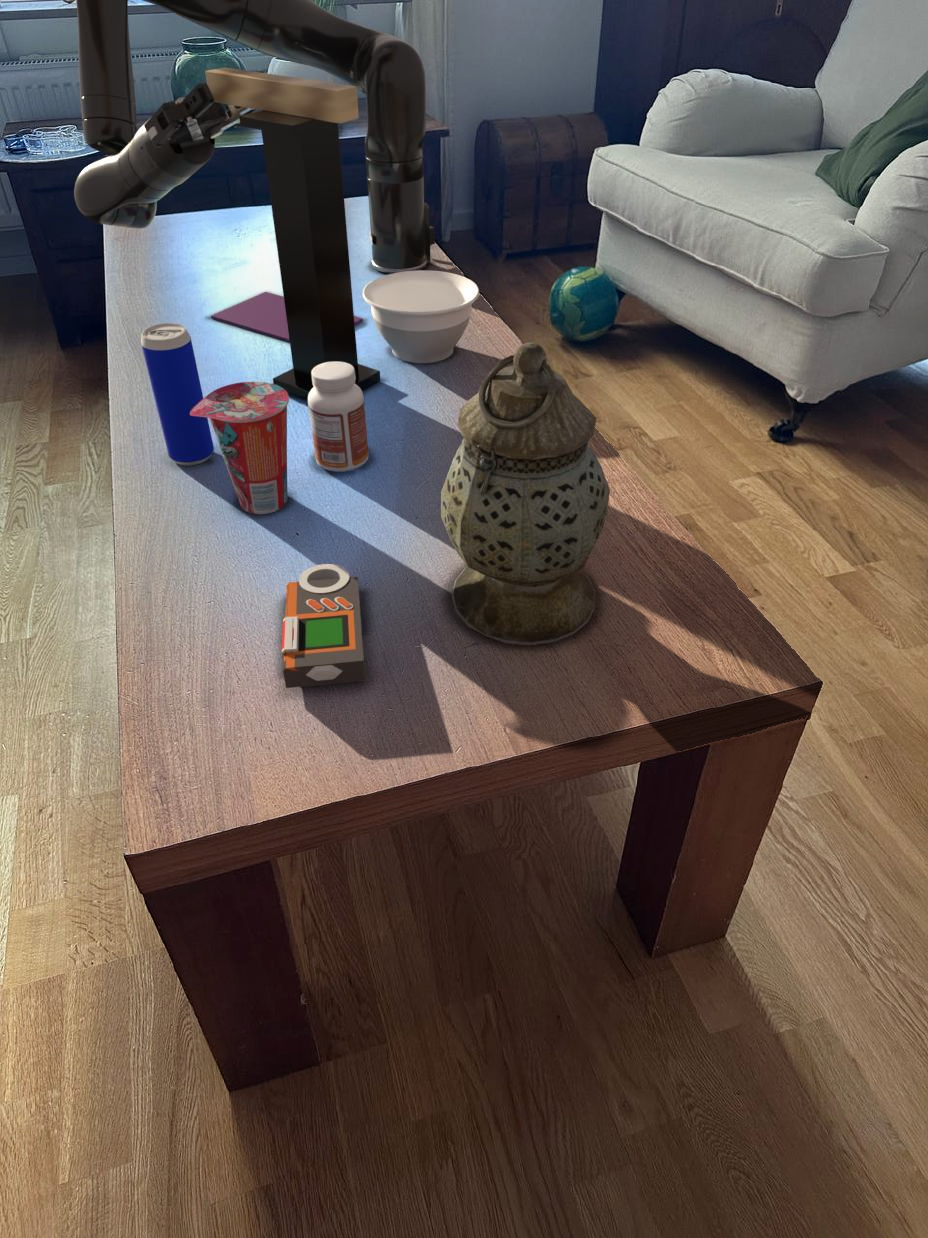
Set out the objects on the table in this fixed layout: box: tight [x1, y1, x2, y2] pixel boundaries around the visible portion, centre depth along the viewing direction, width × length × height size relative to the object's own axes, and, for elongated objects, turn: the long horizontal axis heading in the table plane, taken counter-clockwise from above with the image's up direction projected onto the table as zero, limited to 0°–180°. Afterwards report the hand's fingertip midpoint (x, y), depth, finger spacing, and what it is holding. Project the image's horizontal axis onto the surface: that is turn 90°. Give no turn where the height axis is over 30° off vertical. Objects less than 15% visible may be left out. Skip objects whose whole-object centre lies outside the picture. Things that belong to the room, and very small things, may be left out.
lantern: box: [440, 341, 611, 646], centre depth 75 cm, size 14×14×25 cm
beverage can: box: [140, 322, 215, 466], centre depth 98 cm, size 5×5×15 cm
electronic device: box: [281, 563, 367, 689], centre depth 78 cm, size 7×3×15 cm
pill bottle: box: [307, 362, 370, 473], centre depth 99 cm, size 6×6×11 cm
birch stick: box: [204, 67, 360, 124], centre depth 97 cm, size 20×3×3 cm, turn 54°
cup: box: [190, 381, 290, 515], centre depth 92 cm, size 9×8×12 cm
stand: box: [239, 110, 381, 402], centre depth 107 cm, size 10×10×32 cm
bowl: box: [362, 269, 480, 364], centre depth 123 cm, size 16×16×9 cm
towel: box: [210, 291, 364, 343], centre depth 134 cm, size 12×20×1 cm, turn 56°
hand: (237, 85), depth 99 cm, fingers open, 8 cm apart
